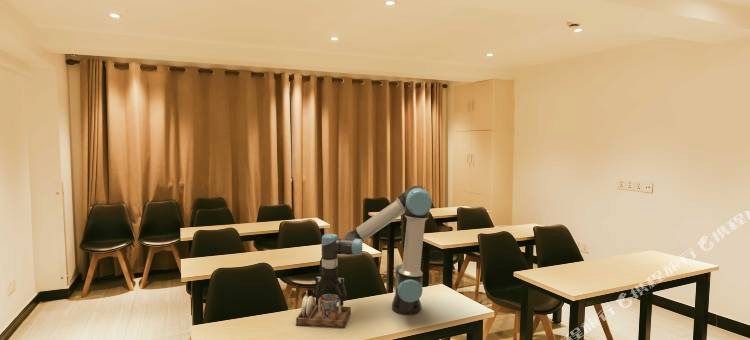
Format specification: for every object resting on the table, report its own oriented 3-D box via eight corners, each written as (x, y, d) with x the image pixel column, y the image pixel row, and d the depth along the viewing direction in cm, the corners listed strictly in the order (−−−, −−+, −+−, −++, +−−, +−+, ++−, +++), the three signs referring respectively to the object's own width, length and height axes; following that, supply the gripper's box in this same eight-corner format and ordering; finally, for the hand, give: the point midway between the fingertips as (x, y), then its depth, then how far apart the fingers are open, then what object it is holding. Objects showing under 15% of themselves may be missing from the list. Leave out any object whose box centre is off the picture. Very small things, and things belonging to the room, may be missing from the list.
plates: (313, 312, 220) (312, 293, 220) (307, 321, 211) (307, 300, 210) (307, 312, 221) (307, 292, 220) (301, 320, 211) (301, 300, 210)
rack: (350, 313, 222) (350, 306, 222) (344, 328, 205) (344, 321, 205) (306, 311, 225) (306, 304, 224) (296, 325, 208) (296, 318, 207)
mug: (339, 322, 209) (339, 300, 208) (319, 323, 208) (319, 301, 207) (338, 311, 221) (338, 291, 220) (319, 312, 220) (319, 292, 219)
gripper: (353, 265, 215) (353, 309, 217) (309, 263, 217) (309, 307, 219) (350, 269, 207) (350, 316, 209) (305, 267, 210) (305, 313, 212)
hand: (329, 311), depth 214 cm, fingers open, 9 cm apart
